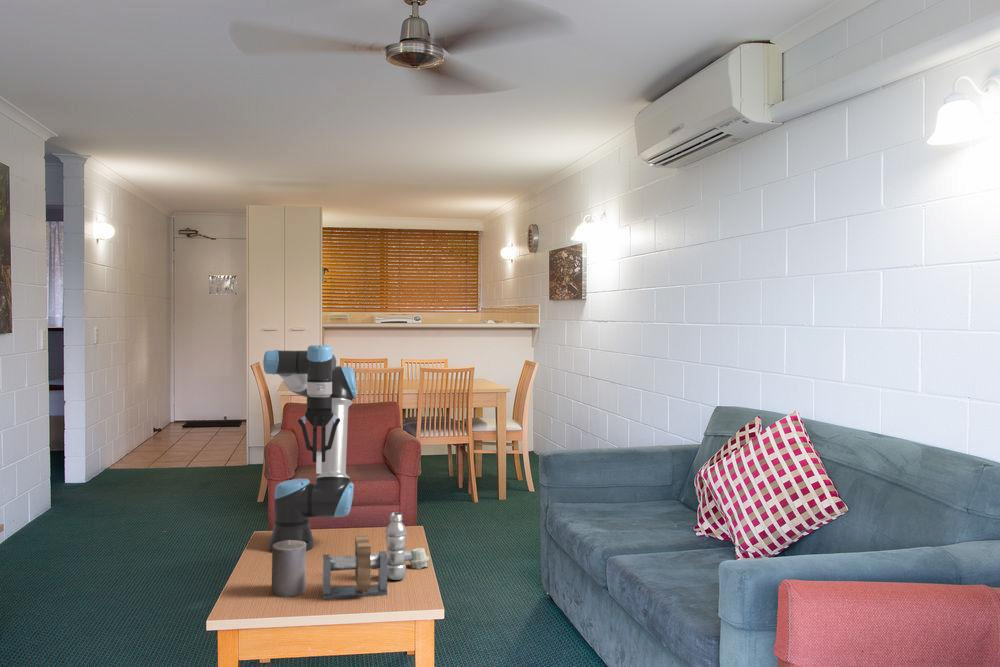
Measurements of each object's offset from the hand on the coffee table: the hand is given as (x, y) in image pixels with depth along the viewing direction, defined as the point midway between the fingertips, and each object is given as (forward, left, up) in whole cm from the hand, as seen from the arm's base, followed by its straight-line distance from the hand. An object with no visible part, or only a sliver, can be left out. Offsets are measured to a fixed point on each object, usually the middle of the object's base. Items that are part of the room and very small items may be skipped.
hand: (318, 472), depth 238 cm
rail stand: (+16, +10, -32) cm, 37 cm away
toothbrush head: (-6, +22, -33) cm, 40 cm away
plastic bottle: (+6, +23, -33) cm, 40 cm away
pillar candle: (+10, -8, -33) cm, 35 cm away
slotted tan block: (+16, +12, -29) cm, 36 cm away
